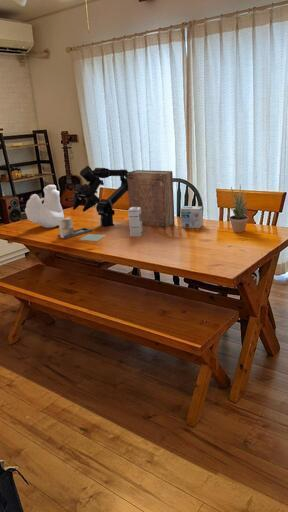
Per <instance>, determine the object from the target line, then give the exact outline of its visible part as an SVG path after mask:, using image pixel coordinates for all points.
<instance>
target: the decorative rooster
mask: <svg viewBox="0 0 288 512" xmlns="http://www.w3.org/2000/svg"><path fill="white" fill-rule="evenodd" d="M42 191H43V193H44V197H42V198H40V196H39V195H38V194H36V193H34V194H33V193H32V194H31V195H30V196H29V198H28V200H27V202H26V204H25V209H24V212H25V215H26V218H27V220H28V221H30V222H32V223H33V224H35V223H38V224H39V225H40V226H41V227H43V228H46V229H52V228H56V227H57V226H58V227H59V222H58V220H60V219H64V218H65V215H64V211H63V210H64V209H63V207H62V204H61V202H60V201H61V197H60V190H57V185H55V184H48V185H46V186H44V188H43V190H42ZM42 201H43V202H42Z"/></svg>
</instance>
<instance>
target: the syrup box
mask: <svg viewBox="0 0 288 512" xmlns="http://www.w3.org/2000/svg"><path fill="white" fill-rule="evenodd" d="M127 215H128V225H129V226H128V227H129V235H130V237H141V236H142V235H143V234H144V230H143V225H142V216H141V207H131V208H130V207H129V209H128V210H127Z"/></svg>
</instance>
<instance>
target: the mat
mask: <svg viewBox="0 0 288 512" xmlns="http://www.w3.org/2000/svg"><path fill="white" fill-rule="evenodd" d="M104 237H107V234H97V233H95V234H94V233H93V234H92V233H91V234H90V233H87V234H86V235H84V236H83V237H80V238H79V239H78V241H89V242H99V241H101V240H102V239H103V238H104Z"/></svg>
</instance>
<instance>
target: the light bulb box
mask: <svg viewBox="0 0 288 512" xmlns="http://www.w3.org/2000/svg"><path fill="white" fill-rule="evenodd" d="M203 223H204V222H203V206H197V205H195V206H191V205H184V206H182V207H181V208H180V225H181V228H185V229H186V228H187V229H188V228H189V229H200V228H202V227H203Z"/></svg>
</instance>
